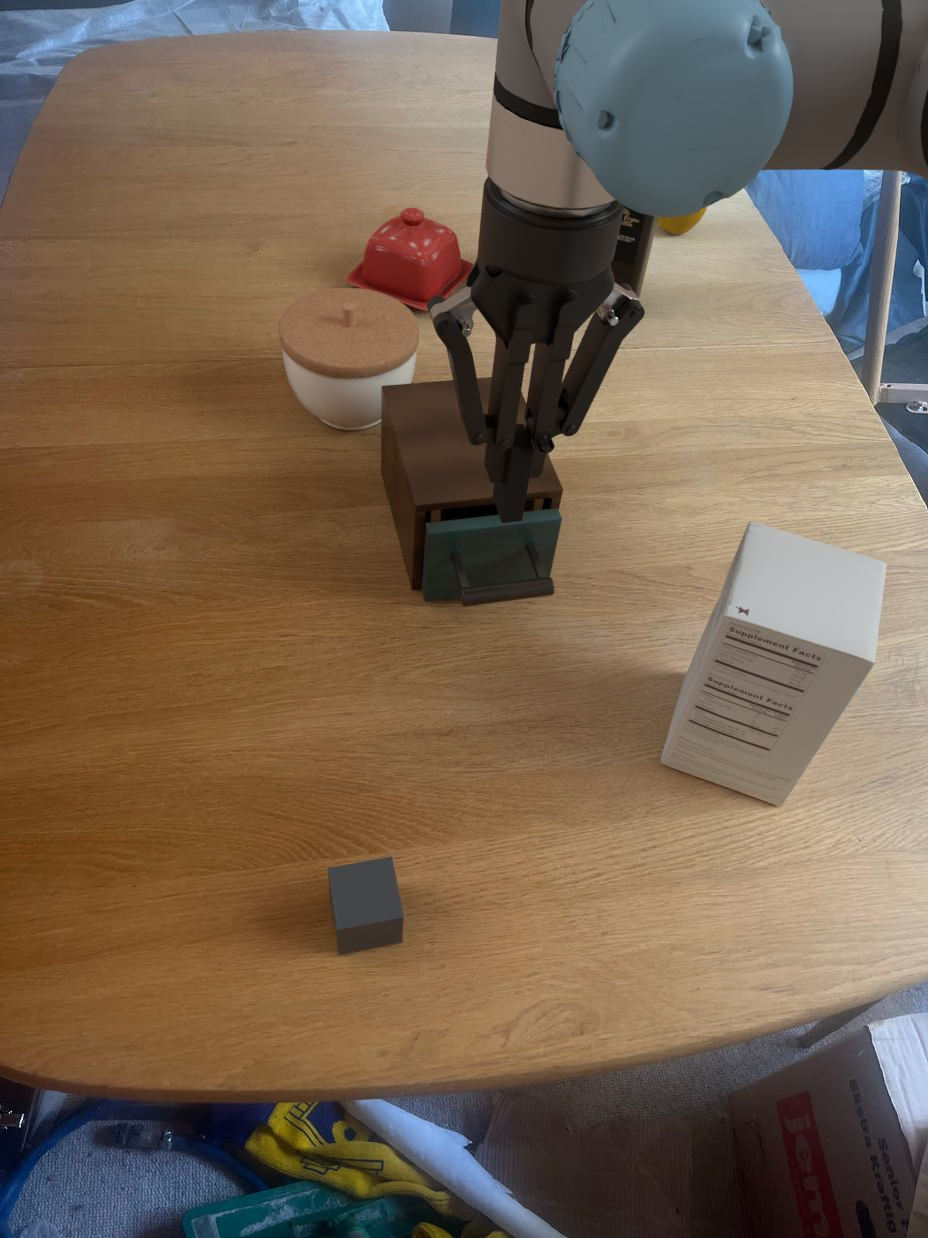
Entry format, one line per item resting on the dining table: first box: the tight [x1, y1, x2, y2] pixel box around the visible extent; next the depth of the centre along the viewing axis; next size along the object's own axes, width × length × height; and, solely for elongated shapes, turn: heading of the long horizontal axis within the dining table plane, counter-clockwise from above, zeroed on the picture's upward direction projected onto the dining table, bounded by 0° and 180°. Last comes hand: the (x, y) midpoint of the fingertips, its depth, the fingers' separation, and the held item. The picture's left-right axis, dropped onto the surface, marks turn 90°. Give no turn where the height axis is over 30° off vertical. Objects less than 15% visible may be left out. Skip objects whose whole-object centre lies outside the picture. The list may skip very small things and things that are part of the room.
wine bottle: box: [611, 206, 659, 300], centre depth 97 cm, size 6×6×30 cm
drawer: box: [421, 499, 563, 608], centre depth 78 cm, size 18×10×8 cm, turn 13°
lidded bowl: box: [278, 287, 420, 431], centre depth 89 cm, size 13×13×11 cm
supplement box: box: [660, 520, 888, 807], centre depth 65 cm, size 10×9×17 cm
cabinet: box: [380, 376, 564, 591], centre depth 81 cm, size 15×12×10 cm
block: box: [327, 855, 405, 956], centre depth 59 cm, size 4×4×4 cm
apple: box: [657, 206, 709, 235], centre depth 117 cm, size 6×6×8 cm
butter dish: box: [345, 207, 474, 312], centre depth 105 cm, size 12×12×8 cm
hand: (507, 508), depth 68 cm, fingers closed
